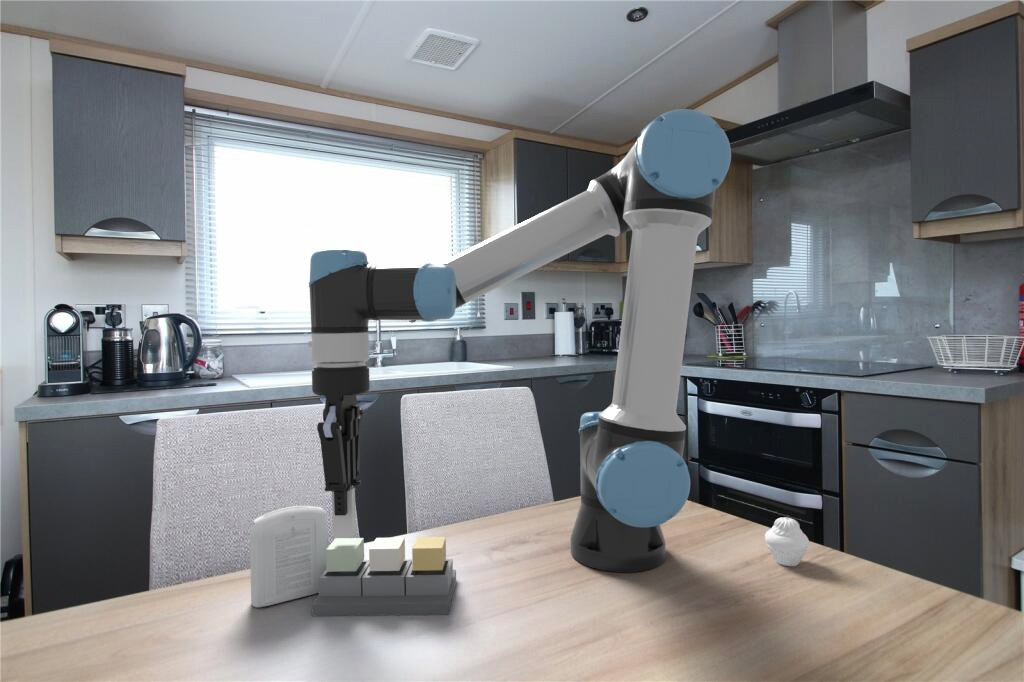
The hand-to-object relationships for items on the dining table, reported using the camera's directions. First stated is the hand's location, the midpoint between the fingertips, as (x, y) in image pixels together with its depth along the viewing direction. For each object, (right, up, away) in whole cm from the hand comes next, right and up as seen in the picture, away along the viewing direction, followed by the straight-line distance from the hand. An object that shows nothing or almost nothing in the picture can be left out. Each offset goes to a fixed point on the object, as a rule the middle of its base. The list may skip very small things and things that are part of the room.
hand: (344, 535), depth 79 cm
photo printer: (-8, -9, +1) cm, 12 cm away
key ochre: (+12, -4, 0) cm, 12 cm away
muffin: (+65, -8, +9) cm, 66 cm away
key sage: (0, -4, 0) cm, 4 cm away
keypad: (+6, -9, 0) cm, 10 cm away
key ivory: (+6, -4, 0) cm, 7 cm away
